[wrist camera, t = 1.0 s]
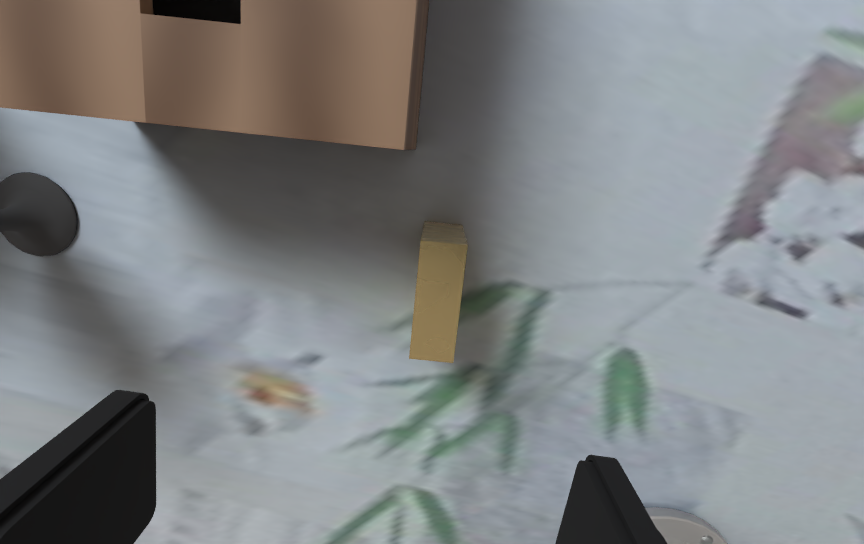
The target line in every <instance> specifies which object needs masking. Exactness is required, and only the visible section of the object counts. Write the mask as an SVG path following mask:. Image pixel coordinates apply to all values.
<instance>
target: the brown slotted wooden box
mask: <svg viewBox="0 0 864 544" xmlns="http://www.w3.org/2000/svg"><path fill="white" fill-rule="evenodd" d="M428 10H429V0H241V24H234V23H225V22H216V21H206V20H197V19H188V18H178V17H169V16H160V15H153V0H0V107H2V108H11V109H21V110H30V111H40V112H49V113H59V114H68V115H78V116H87V117H97V118H106V119H116V120H125V121H135V122H144V123H153V124H163V125H172V126H182V127H191V128H201V129H210V130H220V131H229V132H239V133H248V134H258V135H267V136H277V137H286V138H296V139H305V140H315V141H324V142H333V143H343V144H352V145H362V146H371V147H381V148H390V149H400V150H414V149H416V143H417V132H418V121H419V109H420V98H421V87H422V76H423V65H424V54H425V43H426V32H427V21H428Z"/></svg>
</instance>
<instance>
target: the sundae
mask: <svg viewBox="0 0 864 544" xmlns="http://www.w3.org/2000/svg"><path fill="white" fill-rule="evenodd" d="M76 228H77V217H76V213H75V209H74V207H73V204H72V202H71V200H70V199H69V197H68V196H67V194H66V193H65V192H64V191H63V189H62V188H61V187H60V186H58V185H57V184H56V183H54V182H53V181H51V180H50V179H48V178H47V177H44V176H41V175H38V174H34V173H30V172H27V173H18V174H13V175H11V176H9V177H8V178H6V179H5V180H3V181H2V182H1V183H0V232H2V234H3V235H4V236H5V237H6V239H7V240H8V241H9V242H10V243H11V244H13V245H14V246H15V247H17V248H18V249H20V250H22V251H23V252H26V253H29V254H33V255H38V256H49V255H55V254H57V253H59V252H61V251H63V250H64V249H66V248H67V247H68V246H69V245H70V243H71V242H72V240H73V238H74V236H75V234H76Z"/></svg>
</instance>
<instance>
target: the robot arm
mask: <svg viewBox="0 0 864 544" xmlns="http://www.w3.org/2000/svg"><path fill="white" fill-rule="evenodd" d="M155 507H156V408H155V404H154V402H151V401H149V398H148V396H147V395H146V394H145V393H137V392H130V391H123V390H116V391H114V392H112V393H111V394H110V395H108V396H107V397H106V398H105V399H103V400H102V401H101V402H99V403H98V404H97V405H95V406H94V407H93V408H92V409H90V410H89V411H88V412H86V413H85V414H84V415H83V416H81V417H80V418H79V419H77V420H76V421H75V422H74V423H72V424H71V425H70V426H68V427H67V428H66V429H65V430H63V431H62V432H61V433H59V434H58V435H57V436H56V437H54V438H53V439H52V440H50V441H49V442H48V443H47V444H45V445H44V446H43V447H41V448H40V449H39V450H38V451H36V452H35V453H34V454H32V455H31V456H30V457H29V458H27V459H26V460H25V461H23V462H22V463H21V464H20V465H18V466H17V467H16V468H14V469H13V470H12V471H11V472H9V473H8V474H7V475H5V476H4V477H3V478H2V479H0V544H134V542H135V541H136V540H137V538H138V537H139V536H140V534H141V533H142V532H143V530H144V529H145V528H146V526H147V525H148V524H149V522H150V521H151V519H152V517H153V514H154V511H155ZM556 544H728V543H727V542H726V540H725V539H724V538H723V537H722V536H721V535H720V533H719V532H718V531H717V530H716V529H715V528H714V527H712V526H711V525H710V524H708V523H707V522H706V521H704V520H702V519H700V518H698V517H696V516H694V515H692V514H690V513H686V512H683V511H679V510H675V509H669V508H659V507H651V508H645V507H644V506H643V504H642V502H641V500H640V499H639V497H638V495H637V493H636V491H635V490H634V488H633V486H632V484H631V483H630V481H629V479H628V477H627V476H626V474H625V472H624V470H623V469H622V467H621V465H620V463H619V462H618V461H617V459H615V458H610V457H603V456H595V455H589V456H588V457H587V458H586V460H585V461H582V460H581V461H579V462H578V464H577V467H576V471H575V475H574V478H573V482H572V486H571V489H570V493H569V496H568V500H567V504H566V507H565V511H564V515H563V518H562V522H561V526H560V529H559V533H558V536H557V540H556Z"/></svg>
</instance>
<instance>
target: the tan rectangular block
mask: <svg viewBox="0 0 864 544" xmlns="http://www.w3.org/2000/svg"><path fill="white" fill-rule="evenodd" d="M467 248H468V244H467V240H466V237H465V233H464V230H463V226H462V225H458V224H448V223H439V222H429V221H425V223H424V227H423V232H422V237H421V242H420V253H419V263H418V273H417V283H416V294H415V304H414V314H413V324H412V335H411V345H410V355H409V359H419V360H429V361H439V362H449V363H453V361H454V353H455V345H456V336H457V328H458V320H459V312H460V304H461V296H462V288H463V280H464V272H465V264H466V256H467Z"/></svg>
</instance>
